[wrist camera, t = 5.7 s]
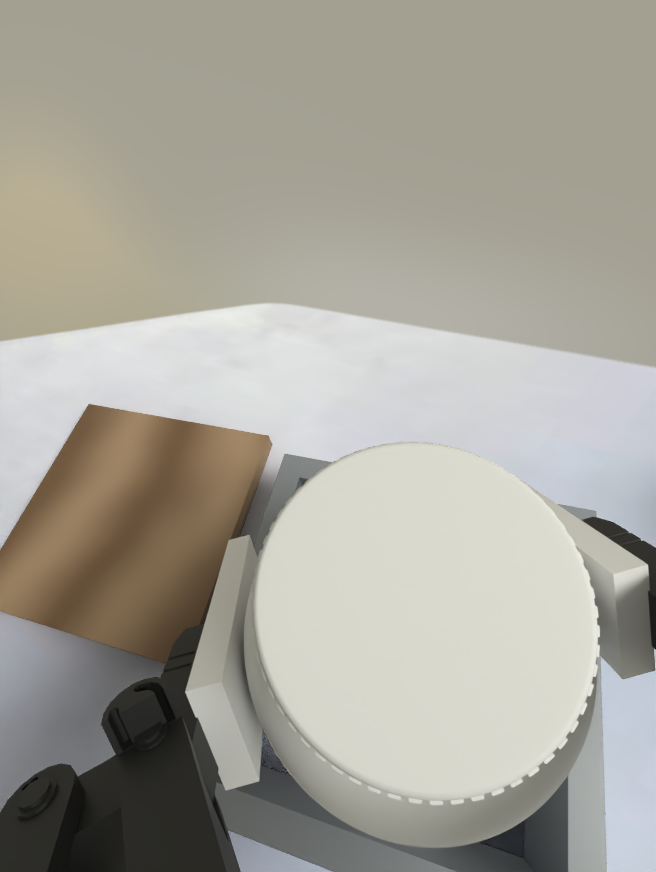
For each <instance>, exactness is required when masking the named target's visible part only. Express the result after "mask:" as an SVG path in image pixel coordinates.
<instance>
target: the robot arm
mask: <svg viewBox="0 0 656 872" xmlns="http://www.w3.org/2000/svg"><path fill="white" fill-rule="evenodd" d="M507 472H508V471H507ZM519 480H520V479H519ZM520 481H521V480H520ZM522 482H523V481H522ZM523 483H524V482H523ZM524 484H526V483H524ZM526 485H527V484H526ZM527 486H529V485H527ZM529 487H530V486H529ZM530 488H531V489H532V491H533V492H534V493H536V494H537V495H539V496H540V497H541V498H542V499H543V501H544V503H545V504H546V505H547V506H548V507H550V508H551V509H552V511H553V512H554V513H555V514H556V517H557V518H558V519H559V521H561V522H562V523H563V525H564V526H565V528H566V531H567V533H568V534H569V536H571V537H572V539H573V541H574V542H575V544H576V548H577V550H578V552H580V554H581V556H582V558H583V560H584V562H583V564H584V566H585V569H587V570H588V573H589V576H590V579H591V580H589V581H590V584H591V587H593V589H594V593H595V597H596V598H595V599H594V601H595V606H597V608H598V615H599V617H598V618H597V625H599V626H600V637H598V645H600V652H599V655H600V656H601V657H602V658H603V659H604V660H605V661H606V662H607V663H608V664H609V665H610V666H611V667H612V668H613V669H614V670H615V672H616V673H617V674H618V675H619V676H620V677H621V678H622V679H626V678H630V677H633V676H637V675H640V674H644V673H647V672H651V671H655V659H654V648H655V649H656V548H655V547H653V546H652V545H650V544H648V543H647V542H645V541H641V539H640V538H638V537H637V536H635V535H634V534H632V533H629V532H628V531H627V530H625V529H624V528H622V527H620V526H619V525H617V524H615V523H614V522H611V521H607V520H604V519H600V518H597V517H590V518H586V519H583V520H580V519H579V518H577V517H576V516H574V515H573V514H571V513H569V512H568V511H566V510H565V509H563V508H562V507H560V506H559V505H557V504H556V503H554V502H553V501H551V500H550V499H548V498H547V497H545V496H544V495H542V494H541V493H539V492H538V491H536V490H535V489H533V488H532V487H530ZM258 562H259V561H258V558H257V555H256V552H255V549H254V546H253V543H252V540H251V536H250V535H246V536H242V537H239V538H235V539H231V540H229V541H228V544H227V548H226V551H225V555H224V558H223V562H222V565H221V569H220V572H219V576H218V579H217V583H216V586H215V590H214V593H213V596H212V600H211V603H210V607H209V610H208V614H207V617H206V621H205V624H201V625H197V626H194V627H190V628H186V629H185V630H184V631H183V632H182V634H181V635H180V636H179V637H178V638H177V640H176V641H175V642H174V643H173V646H172V649H171V652H170V654H169V657H168V661H167V662H166V665H165V668H164V673H163V674H162V676H161V678H158V677H154V678H147V679H144V680H141V681H139V682H137V683H134V684H132V685H131V686H130V687H128V688H127V689H125V690H124V691H122V692H121V693H120V694H119V695H118V696H117V697H116V698H115V699H114V700H113V701H112V702H111V703H110V704H109V706H108V707H107V709H106V711H105V712H104V714H103V718H102V723H101V724H102V727H103V729H104V731H105V733H106V735H107V737H108V739H109V741H110V743H111V745H112V747H113V749H114V751H115V753H116V755H115V756H113V757H112V758H110V759H109V760H107V761H105V762H103V763H102V764H100V765H98V766H96V767H94V768H93V769H91V770H89V771H87V772H85V773H83V774H82V775H80V776H78V777H77V775H76V773H75V771H74V770H73V768H72V767H71V765H67V764H58V765H54V766H50V767H48V768H46V769H44V770H42V771H41V772H39V773H37V774H35V775H34V776H33V777H31V778H30V779H29V780H28V781H26V782H25V783H24V784H23V785H21V786H20V787H19V788H18V790H17V791H16V792H15V793H14V794H13V795H12V796H11V797H10V799H9V800H8V801H7V803H6V804H5V806H4V808H3V809H2V811H1V813H0V872H240V868H239V865H238V862H237V859H236V856H235V852H234V849H233V846H232V843H231V840H230V837H229V833H228V830H227V827H226V824H225V821H224V818H223V814H222V811H221V808H220V805H219V803H218V800H217V798H216V796H215V788H216V782H217V776H218V773H219V776H220V778H221V781H222V783H223V785H224V788H225V790H230V789H233V788H237V787H241V786H244V785H248V784H251V783H255V782H258V781H259V779H260V764H261V749H262V734H263V729H262V726H261V724H260V722H259V719H258V717H257V714H256V711H255V708H254V705H253V702H252V698H251V694H250V690H249V686H248V681H247V675H246V668H245V659H244V624H245V615H246V608H247V602H248V597H249V593H250V589H251V586H252V582H253V579H254V576H255V575H254V571H255V566H256V565H258Z"/></svg>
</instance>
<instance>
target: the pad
mask: <svg viewBox="0 0 656 872" xmlns="http://www.w3.org/2000/svg"><path fill="white" fill-rule="evenodd" d="M271 446H272V443H271V441H270V438H269V436H267V435H261V434H255V433H250V432H244V431H238V430H233V429H227V428H221V427H216V426H210V425H204V424H199V423H193V422H187V421H182V420H176V419H170V418H165V417H159V416H153V415H148V414H142V413H136V412H131V411H125V410H119V409H114V408H108V407H102V406H97V405H91V404H89V405H88V406H87V408H86V410H85V411H84V413H83V415H82V416H81V418H80V420H79V421H78V423H77V425H76V426H75V428H74V430H73V431H72V433H71V435H70V436H69V438H68V439H67V441H66V443H65V444H64V446H63V448H62V449H61V451H60V453H59V454H58V456H57V458H56V459H55V461H54V463H53V464H52V466H51V468H50V469H49V471H48V472H47V474H46V476H45V477H44V479H43V481H42V482H41V484H40V486H39V487H38V489H37V491H36V492H35V494H34V496H33V497H32V499H31V501H30V502H29V504H28V505H27V507H26V509H25V510H24V512H23V514H22V515H21V517H20V519H19V520H18V522H17V524H16V525H15V527H14V529H13V530H12V532H11V534H10V535H9V537H8V538H7V540H6V542H5V543H4V545H3V547H2V548H1V550H0V611H1V612H4V613H7V614H11V615H14V616H17V617H20V618H23V619H26V620H30V621H33V622H36V623H39V624H42V625H46V626H49V627H52V628H55V629H58V630H61V631H65V632H68V633H71V634H74V635H77V636H80V637H84V638H87V639H90V640H93V641H96V642H99V643H103V644H106V645H109V646H112V647H115V648H118V649H122V650H125V651H128V652H131V653H134V654H138V655H141V656H144V657H147V658H150V659H153V660H157V661H160V662H163V663H166V662H167V661H168V657H169V654H170V652H171V649H172V646H173V643H174V642H175V641H176V640H177V638H178V637H179V636H180V635H181V634H182V632H183V631H184V630H185V629H186V628H190V627H194V626H197V625H201V624H205V621H206V617H207V614H208V610H209V607H210V603H211V600H212V596H213V593H214V590H215V586H216V583H217V579H218V576H219V572H220V569H221V565H222V562H223V558H224V555H225V551H226V548H227V544H228V541H229V540H231V539H235V538H239V536H240V533H241V530H242V528H243V525H244V522H245V519H246V516H247V514H248V511H249V508H250V505H251V502H252V499H253V497H254V494H255V491H256V488H257V485H258V483H259V480H260V477H261V474H262V471H263V469H264V466H265V463H266V460H267V457H268V455H269V452H270V449H271Z"/></svg>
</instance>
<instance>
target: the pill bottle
mask: <svg viewBox="0 0 656 872" xmlns="http://www.w3.org/2000/svg"><path fill="white" fill-rule="evenodd" d="M285 504H286V505H285V506H284V508H283V509H281V510H280V512H279V513H278V515H277V519H276V520H275V522H273V523H272V525H271V527H270V528H269V530H270V532H269V534H268V536H267V535H266V537H265V539H264V542H263V545H264V546H263V549H262V550H260V552H259V556H258V560H259V562H258V565H256V566H255V571H254V575H255V576H254V579H253V582H252V586H251V589H250V593H249V597H248V602H247V608H246V615H245V624H244V659H245V668H246V675H247V681H248V686H249V690H250V694H251V698H252V702H253V705H254V708H255V711H256V714H257V717H258V719H259V722H260V724H261V726H262V729H263V731H264V733H265V735H266V737H267V739H268V741H269V743H270V745H271V747H272V748H273V750H274V752H275V753H276V755H277V757H278V758H279V760H280V761H281V763H282V764H283V765H284V767H285V768H286V770H287V771H288V772H289V774H290V775H291V776H292V777H293V778H294V780H295V781H296V782H297V783H298V784H299V785H300V786H301V788H302V789H303V790H304V791H305V792H306V793H307V794H308V795H309V796H310V797H311V798H313V799H314V800H315V801H316V802H317V803H318V804H319V805H321V806H322V807H323V808H324V809H326V810H327V811H328V812H330V813H331V814H332V815H334V816H335V817H337V818H338V819H340V820H341V821H343V822H345V823H346V824H348V825H350V826H352V827H353V828H355V829H357V830H359V831H361V832H364V833H366V834H368V835H371V836H373V837H376V838H378V839H381V840H384V841H388V842H391V843H395V844H400V845H405V846H411V847H418V848H451V847H459V846H465V845H470V844H474V843H477V842H481V841H484V840H487V839H490V838H492V837H495V836H497V835H499V834H502V833H504V832H506V831H508V830H509V829H511V828H513V827H515V826H516V825H518V824H520V823H521V822H523V821H524V820H525V819H527V818H528V817H529V816H531V815H532V814H533V813H535V812H536V811H537V810H538V809H539V808H540V807H541V806H542V805H543V804H544V803H545V802H546V801H547V800H548V799H549V798H550V797H551V796H552V795H553V794H554V793H555V792H556V790H557V789H558V788H559V787H560V785H561V784H562V783H563V781H564V780H565V778H566V777H567V775H568V774H569V772H570V771H571V769H572V767H573V766H574V764H575V762H576V760H577V758H578V756H579V754H580V752H581V750H582V747H583V745H584V743H585V740H586V737H587V734H588V731H589V728H590V724H591V721H592V716H593V712H594V706H595V700H596V692H597V669H598V665H597V657H599V652H600V645H598V637H600V626H599V625H597V618H598V617H599V615H598V608H597V606H595V601H594V599H595V598H596V597H595V593H594V589H593V587H591V584H590V581H589V580H591V579H590V576H589V573H588V570H587V569H585V566H584V564H583V562H584V560H583V558H582V556H581V554H580V552H578V550H577V548H576V544H575V542H574V541H573V539H572V537H571V536H569V534H568V533H567V531H566V528H565V526H564V525H563V523H562V522H561V521H559V519H558V518H557V517H556V514H555V513H554V512H553V511H552V509H551V508H550V507H548V506H547V505H546V504H545V503H544V501H543V499H542V498H541V497H540V496H539V495H537V494H536V493H534V492H533V491H532V489H531V488H530V487H529V486H527V485H526V484H524V483H523V482H522V481H520V480H519V479H518V478H517V477H516V476H514V475H513V474H511V473H509V472H507V471H506V470H505V469H503V468H502V467H500V466H498V465H496V464H494V463H492V462H491V461H489V460H487V459H485V458H482V457H479V456H477V455H475V454H473V453H470V452H466V451H463V450H461V449H457V448H452V447H448V446H445V445H440V444H439V445H438V444H433V443H418V442H405V443H404V442H399V443H392V444H383V445H380V446H373V447H369V448H367V449H364V450H359V451H356V452H354V453H353V454H350V455H346V456H344V457H342V458H341V459H339V460H337V461H334V462H332V463H331V464H329V465H328V466H327V467H325V468H324V469H321V470H320V471H318V472H317V473H316V475H314V476H313V477H310V478H309V479H308V480H307V481H306V482H305V484H304V485H303V486H302V487H299V488H298V489H297V490H296V491H295V494H294V495H293V496H292V497H290V498H289V499H288V501H287V502H286V503H285Z"/></svg>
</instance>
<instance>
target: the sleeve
mask: <svg viewBox="0 0 656 872" xmlns="http://www.w3.org/2000/svg"><path fill="white" fill-rule="evenodd" d="M331 463H332V462H327V461H322V460H316V459H311V458H305V457H300V456H294V455H289V454H284V457H283V460H282V463H281V466H280V469H279V472H278V475H277V478H276V481H275V484H274V487H273V490H272V493H271V496H270V499H269V502H268V505H267V507H266V510H265V513H264V516H263V519H262V522H261V525H260V528H259V531H258V534H257V537H256V540H255V543H254V549H255V552H256V555H257V558H258V556H259V552H260V550H262V549H263V546H264V545H263V542H264V539H265V537H266V535H267V536H268V534H269V532H270V530H269V528H270V527H271V525H272V523H273V522H275V520H276V519H277V515H278V513H279V512H280V510H281V509H283V508H284V506H285V505H286V504H285V503H286V502H287V501H288V499H289V498H290V497H292V496H293V495H294V494H295V491H296V490H297V489H298V488H299V487H302V486H303V485H304V484H305V482H306V481H307V480H308V479H309V478H310V477H313V476H314V475H316V473H317V472H318V471H320V470H321V469H324V468H325V467H327V466H328V465H329V464H331ZM557 505H559V506H560V507H562V508H563V509H565V510H566V511H568V512H569V513H571V514H573V515H574V516H576V517H577V518H579V519H580V520H583V519H586V518H590V517H596V511H593V510H587V509H582V508H576V507H571V506H565V505H560V504H557ZM258 561H259V560H258ZM597 665H598V669H597V692H596V700H595V706H594V712H593V716H592V721H591V724H590V728H589V731H588V734H587V737H586V740H585V743H584V745H583V747H582V750H581V752H580V754H579V756H578V758H577V760H576V762H575V764H574V766H573V767H572V769H571V771H570V772H569V774H568V775H567V777H566V778H565V780H564V781H563V783H562V784H561V785H560V787H559V788H558V789H557V790H556V792H555V793H554V794H553V795H552V796H551V797H550V798H549V799H548V800H547V801H546V802H545V803H544V804H543V805H542V806H541V807H540V808H539V809H538V810H537V811H536V812H535V813H533V814H532V815H531V816H529V817H528V818H527V819H525V832H524V858H521V857H519V856H516V855H513V854H510V853H507V852H504V851H502V850H499V849H496V848H493V847H490V846H488V845H485V844H482V843H479V842H477V843H474V844H470V845H465V846H459V847H451V848H418V847H411V846H405V845H400V844H395V843H391V842H388V841H384V840H381V839H378V838H376V837H373V836H371V835H368V834H366V833H364V832H361V831H359V830H357V829H355V828H353V827H352V826H350V825H348V824H346V823H345V822H343V821H341V820H340V819H338V818H337V817H335V816H334V815H332V814H331V813H330V812H328V811H327V810H326V809H324V808H323V807H322V806H321V805H319V804H318V803H317V802H316V801H315V800H314V799H313V798H311V797H310V796H309V795H308V794H307V793H306V792H305V791H304V790H303V789H302V788H301V786H300V785H299V784H298V783H297V782H296V781H295V780H294V778H293V777H292V776H290V775H287V774H284V773H281V772H278V771H275V770H273V769H270V768H267V767H264V766H261V765H260V779H259V781H258V782H255V783H251V784H248V785H244V786H241V787H237V788H233V789H230V790H225V788H224V785H223V783H222V781H221V778H220V776H219V773H218V776H217V782H216V788H215V796H216V798H217V800H218V803H219V805H220V808H221V811H222V814H223V818H224V821H225V824H226V827H227V830H229V831H232V832H234V833H237V834H239V835H242V836H244V837H247V838H250V839H252V840H255V841H257V842H260V843H262V844H265V845H267V846H270V847H272V848H275V849H277V850H280V851H282V852H285V853H287V854H290V855H293V856H295V857H298V858H300V859H303V860H305V861H308V862H310V863H313V864H315V865H318V866H320V867H323V868H325V869H328V870H330V871H333V872H607V862H606V828H605V794H604V760H603V726H602V692H601V659H600V655H599V657H597Z"/></svg>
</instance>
